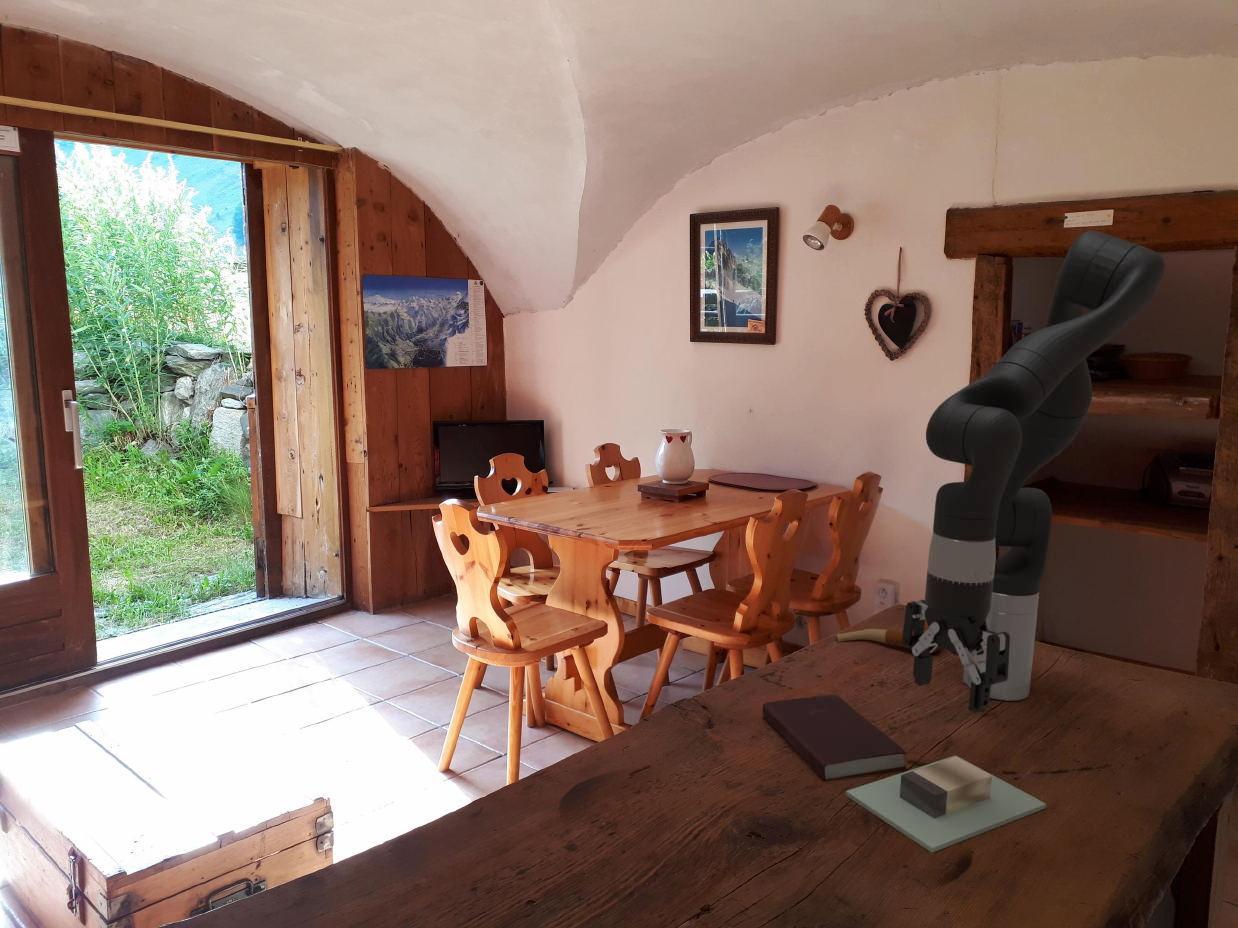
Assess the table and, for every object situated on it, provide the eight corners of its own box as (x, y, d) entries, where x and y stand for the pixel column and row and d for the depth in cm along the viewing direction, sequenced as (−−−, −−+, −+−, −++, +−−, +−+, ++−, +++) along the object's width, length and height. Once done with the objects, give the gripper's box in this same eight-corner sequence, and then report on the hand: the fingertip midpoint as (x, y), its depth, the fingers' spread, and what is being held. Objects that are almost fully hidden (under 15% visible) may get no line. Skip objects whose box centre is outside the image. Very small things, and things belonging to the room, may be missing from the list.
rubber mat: (845, 795, 118) (845, 790, 118) (955, 759, 128) (955, 755, 128) (931, 852, 107) (932, 847, 106) (1045, 807, 116) (1046, 803, 116)
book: (821, 784, 122) (823, 761, 121) (761, 719, 140) (762, 699, 140) (906, 773, 125) (908, 750, 125) (836, 711, 144) (838, 691, 143)
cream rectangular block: (954, 777, 122) (956, 756, 122) (990, 797, 117) (992, 775, 117) (899, 796, 117) (901, 774, 117) (933, 818, 112) (935, 795, 112)
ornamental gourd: (944, 660, 164) (947, 628, 163) (837, 651, 167) (839, 620, 166) (938, 645, 171) (940, 615, 170) (835, 637, 174) (837, 608, 173)
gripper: (1032, 583, 108) (1018, 714, 111) (936, 551, 120) (926, 670, 123) (987, 592, 104) (974, 727, 107) (893, 558, 117) (884, 680, 120)
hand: (948, 696), depth 115 cm, fingers open, 8 cm apart
